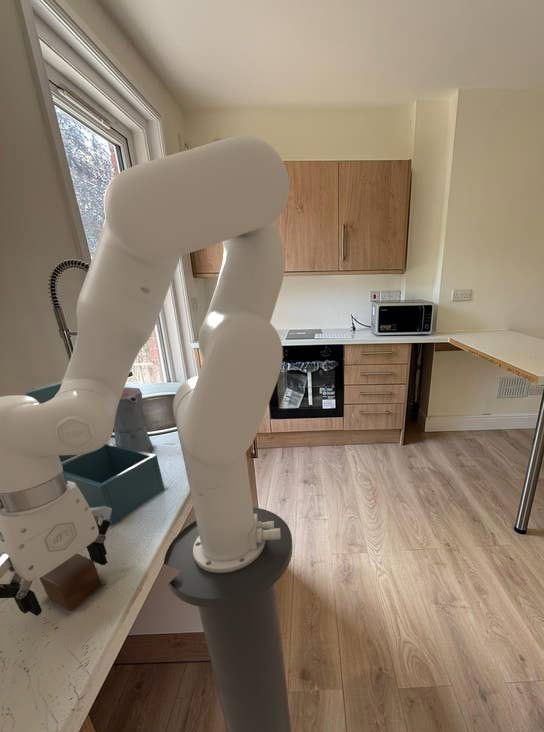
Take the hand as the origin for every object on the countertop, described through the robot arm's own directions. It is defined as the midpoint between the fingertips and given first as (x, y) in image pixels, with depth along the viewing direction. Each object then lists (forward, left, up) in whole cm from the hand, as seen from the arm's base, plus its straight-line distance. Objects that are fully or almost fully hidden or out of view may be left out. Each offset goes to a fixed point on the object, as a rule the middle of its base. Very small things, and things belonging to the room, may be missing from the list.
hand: (69, 584), depth 52 cm
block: (0, 0, -2) cm, 2 cm away
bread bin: (+5, -25, -2) cm, 26 cm away
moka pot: (+9, -46, -2) cm, 47 cm away
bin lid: (+10, -28, +16) cm, 34 cm away
